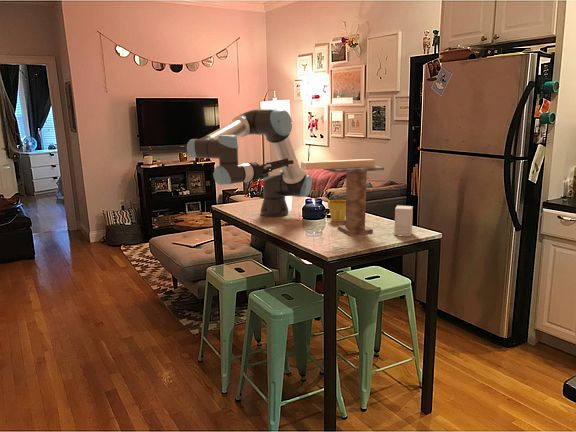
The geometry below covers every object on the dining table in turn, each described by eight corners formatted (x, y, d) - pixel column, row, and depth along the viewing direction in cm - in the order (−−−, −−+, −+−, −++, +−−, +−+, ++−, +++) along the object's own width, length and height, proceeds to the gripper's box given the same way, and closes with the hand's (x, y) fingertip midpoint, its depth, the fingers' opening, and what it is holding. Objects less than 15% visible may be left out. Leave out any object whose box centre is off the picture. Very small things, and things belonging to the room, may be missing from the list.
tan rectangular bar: (304, 170, 207) (304, 162, 207) (300, 168, 212) (300, 161, 211) (374, 166, 218) (375, 159, 218) (369, 165, 223) (370, 158, 222)
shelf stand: (333, 237, 214) (334, 169, 207) (321, 230, 226) (322, 166, 220) (381, 232, 221) (384, 167, 215) (366, 225, 234) (368, 164, 228)
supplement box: (412, 233, 221) (413, 205, 218) (410, 237, 214) (412, 209, 211) (395, 231, 223) (396, 205, 220) (393, 235, 216) (394, 208, 213)
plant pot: (324, 221, 244) (325, 202, 241) (331, 217, 253) (332, 199, 251) (344, 223, 239) (344, 204, 237) (350, 219, 248) (351, 200, 246)
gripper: (236, 189, 209) (274, 183, 222) (268, 171, 189) (308, 166, 203) (231, 172, 209) (270, 167, 223) (262, 153, 190) (303, 149, 203)
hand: (288, 167), depth 213 cm, fingers open, 13 cm apart
